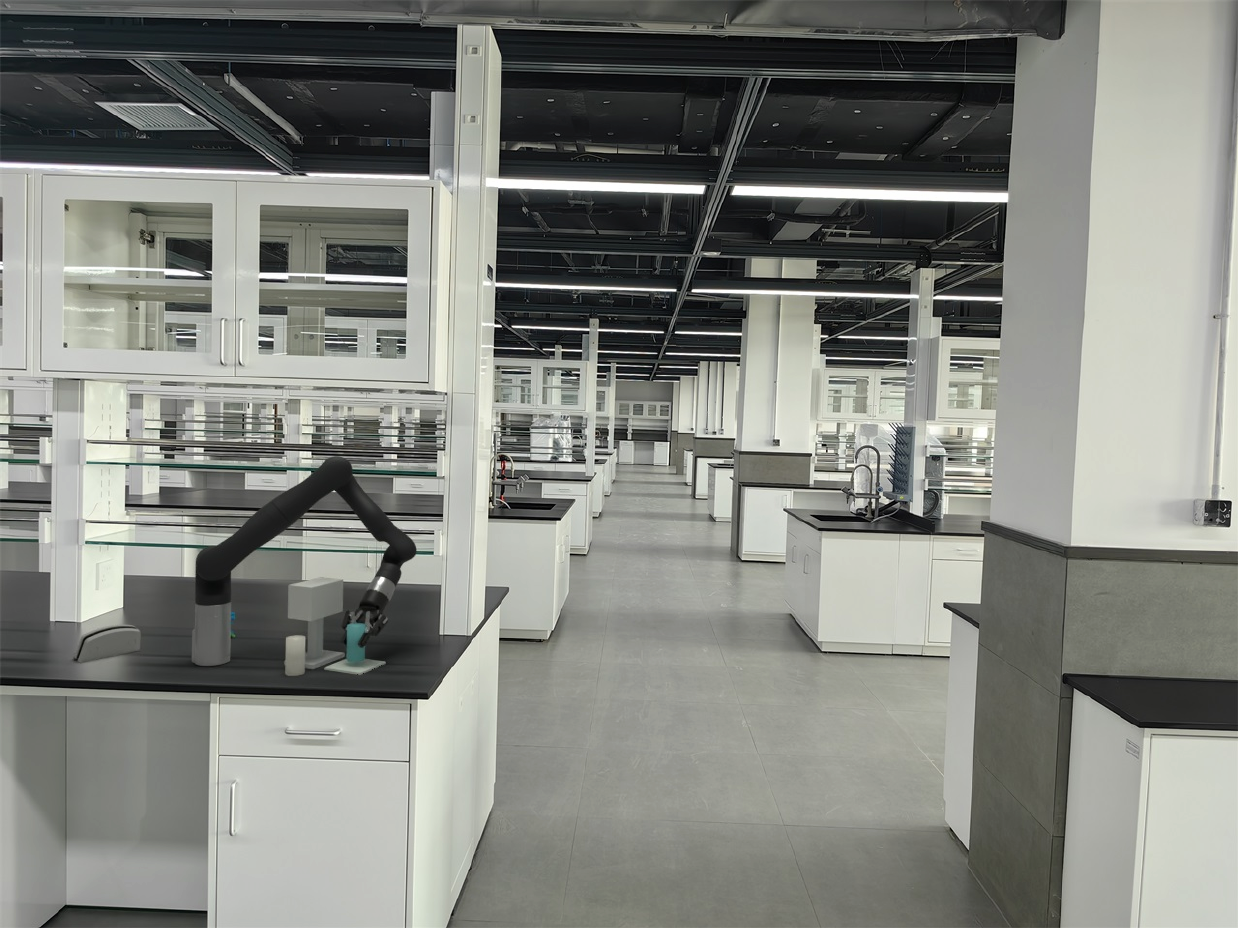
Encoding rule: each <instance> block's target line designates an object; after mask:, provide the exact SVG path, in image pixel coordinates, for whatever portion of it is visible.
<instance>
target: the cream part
mask: <svg viewBox="0 0 1238 928" xmlns="http://www.w3.org/2000/svg"><path fill="white" fill-rule="evenodd" d="M305 653H306V636H305V635H301V634H299V635H298V634H297V635H295V634H294V635H290V636H289V635H288V636H286V637H285V660H286V665H284V666H285V669H284V670H285V671H284V674H285V676H289V677H297V676H301V675H304V674H305V672H306V668H305Z"/></svg>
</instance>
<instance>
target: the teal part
mask: <svg viewBox="0 0 1238 928" xmlns="http://www.w3.org/2000/svg"><path fill="white" fill-rule="evenodd" d="M363 633H365V624H363V623H357V622H356V623H352V624H348V625H347V645H346V659H347V661H349V662H360V661H363V660H365V659H366V645H365V646H364V647H363V648H360V647H359V646H358V642H359V640H360V638H361V636H362V635H363Z"/></svg>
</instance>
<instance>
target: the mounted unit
mask: <svg viewBox="0 0 1238 928" xmlns="http://www.w3.org/2000/svg"><path fill="white" fill-rule="evenodd" d="M287 595H288V596H287V597H288V598H287V600H288V601H287V619H289V620H290V619H291V620H299V621H307V652H305V669H309V670H315V669H317V668H319V667H323V666H325V665H327V664H331V663H333V662H336V661H338V660H341V659H342V658H346V655H345V652H341V651H334V650H327V649H326V650H325V649H324V618H326V617H329V616H333V615H337V614H339V613H342V612H344V607H343V606H344V579H341V578H332V577H324V576H323V577H321V576H320V577H317V578H312V579H308V580H303V581H300V582H295V583H292V584H288V592H287ZM283 664H284V666H286V659H285V660H284V661H283Z"/></svg>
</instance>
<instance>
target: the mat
mask: <svg viewBox="0 0 1238 928" xmlns="http://www.w3.org/2000/svg"><path fill="white" fill-rule="evenodd" d="M386 662H387V661H383V660H376V659H369V658H365V660H363V661H360V662H349V661H347V658H345V659H342V660H340V661H337V662H334V663H333V664H330V665H327V666H325V667H324V668H323V670H325V671H331V672H339V673H343V674H344V673H345V674H351V675H357V674H358V675H357V676H361V675H364V674H366V673H368V672H370V671H373V670H375V669H377V668H379V666H380V667H382V666H384V665H386V664H387V663H386ZM381 665H382V666H381ZM374 668H375V669H374ZM372 669H373V670H372ZM363 673H364V674H363Z"/></svg>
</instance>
